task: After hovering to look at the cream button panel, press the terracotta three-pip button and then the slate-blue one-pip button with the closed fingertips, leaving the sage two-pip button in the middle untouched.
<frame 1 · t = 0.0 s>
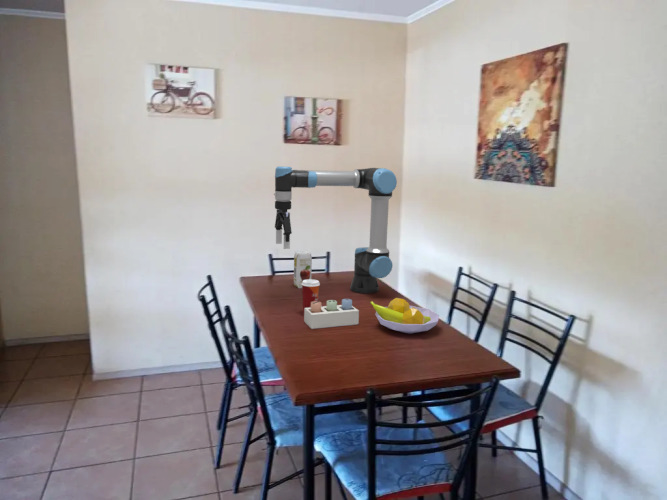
hand: (282, 246, 239), 28 cm above the table, fingers open, 13 cm apart
coffee cup: (310, 313, 231), on the table
button two: (331, 307, 217), point 7 cm above the table, slide at 0.0 cm
panel: (331, 322, 218), on the table
button one: (346, 306, 220), point 7 cm above the table, slide at 0.0 cm
juice carton: (302, 287, 277), on the table
fruit bowl: (403, 327, 216), on the table
button three: (316, 309, 215), point 7 cm above the table, slide at 0.0 cm
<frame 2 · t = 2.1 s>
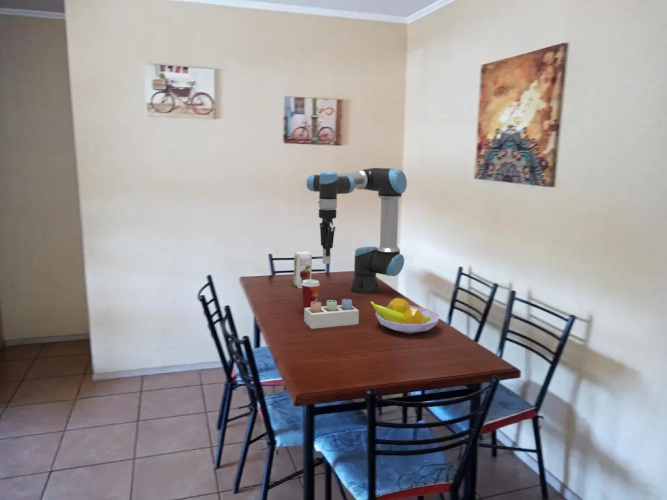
hand: (326, 263, 221), 24 cm above the table, fingers closed
nothing on the table moved.
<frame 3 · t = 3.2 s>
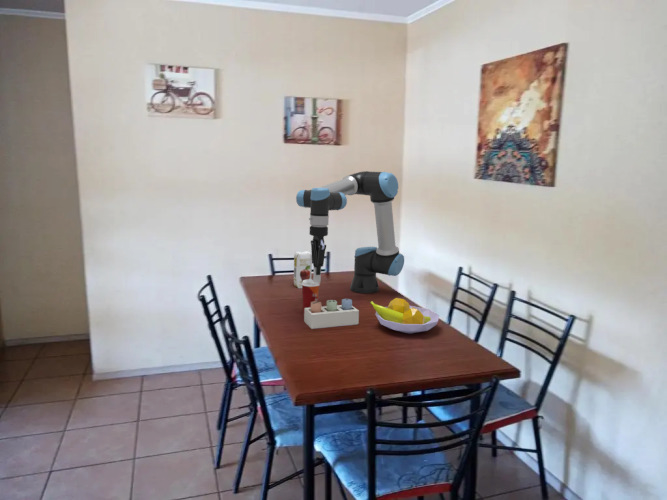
hand: (316, 281, 213), 18 cm above the table, fingers closed
nothing on the table moved.
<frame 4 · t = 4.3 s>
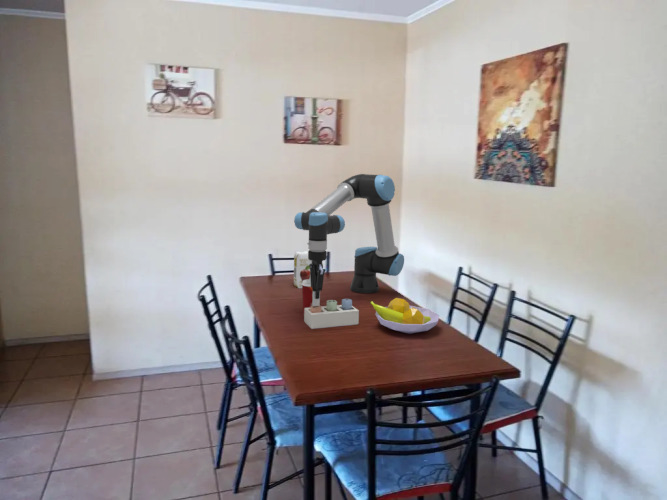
hand: (315, 305, 214), 8 cm above the table, fingers closed
button three: (315, 313, 215), point 5 cm above the table, slide at 1.7 cm
everything else where it was.
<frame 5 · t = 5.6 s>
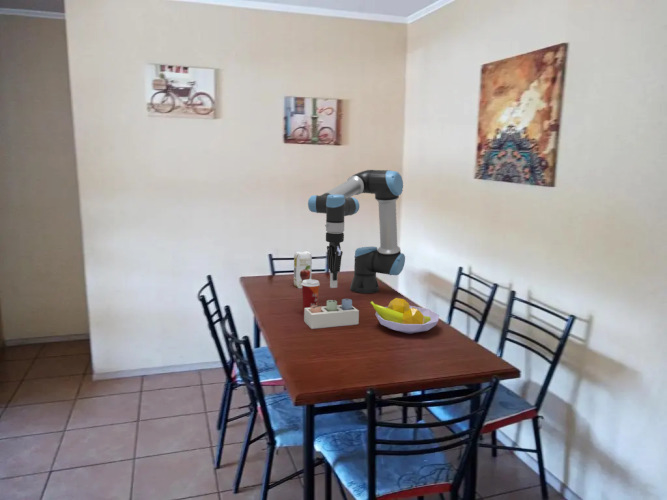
hand: (333, 287, 216), 16 cm above the table, fingers closed
nothing on the table moved.
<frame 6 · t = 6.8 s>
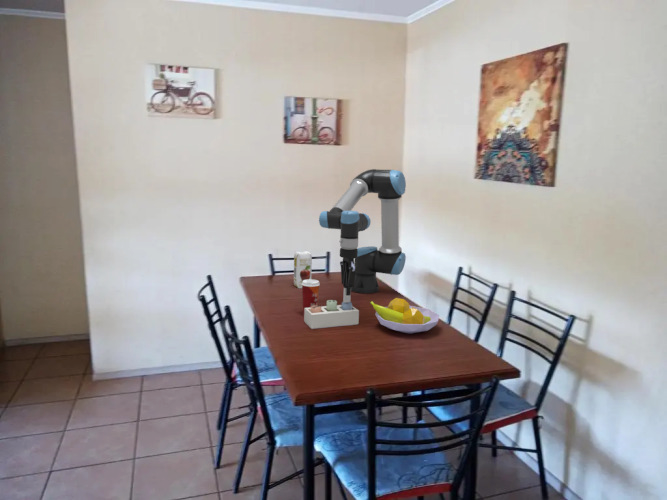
hand: (346, 301, 219), 9 cm above the table, fingers closed
button one: (346, 309, 220), point 5 cm above the table, slide at 1.2 cm, touching gripper
everything else where it was.
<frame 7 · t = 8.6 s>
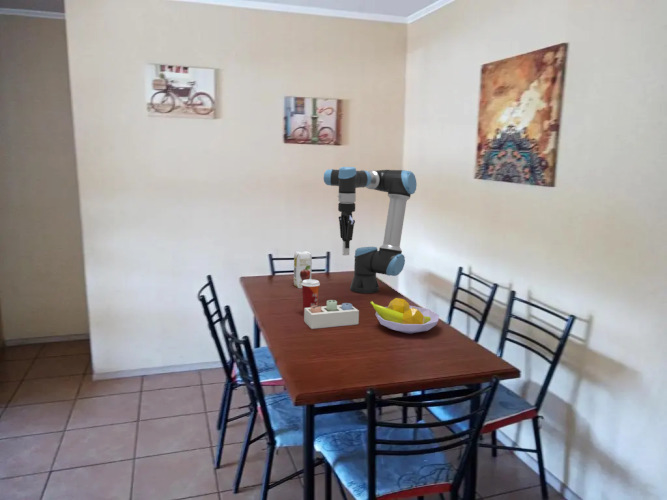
hand: (345, 254, 230), 27 cm above the table, fingers closed
button one: (346, 310, 220), point 5 cm above the table, slide at 1.9 cm
everything else where it was.
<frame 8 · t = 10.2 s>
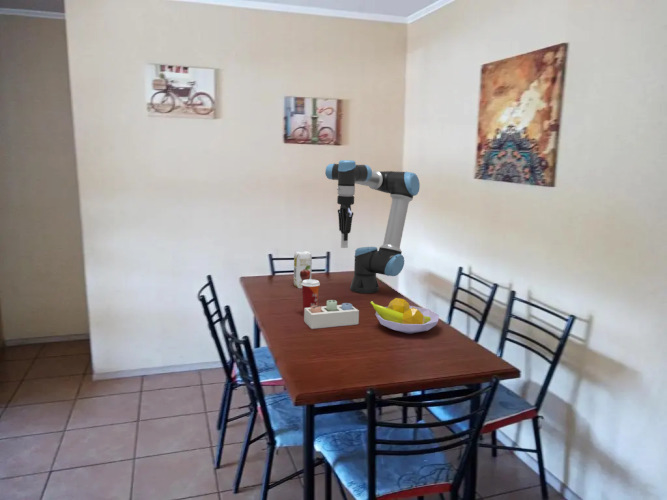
hand: (344, 247, 232), 29 cm above the table, fingers closed
nothing on the table moved.
at the end: button three slide at 1.9 cm; button one slide at 1.9 cm; button two slide at 0.0 cm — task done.
